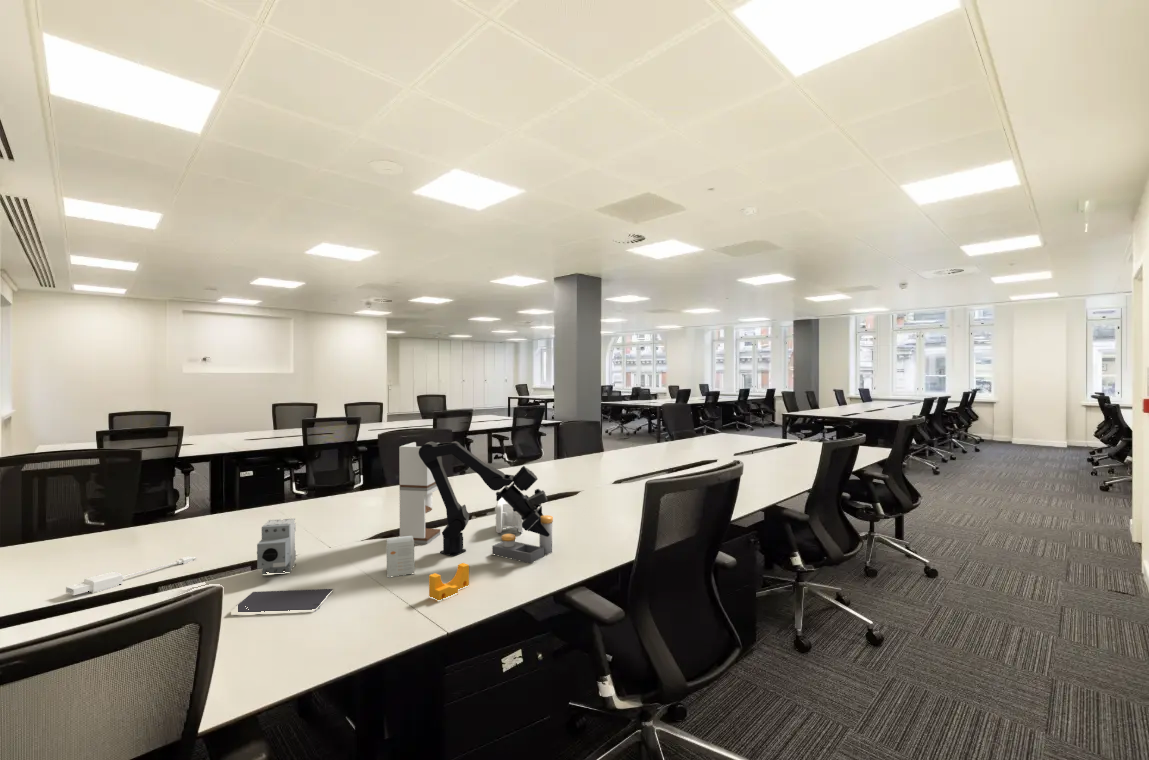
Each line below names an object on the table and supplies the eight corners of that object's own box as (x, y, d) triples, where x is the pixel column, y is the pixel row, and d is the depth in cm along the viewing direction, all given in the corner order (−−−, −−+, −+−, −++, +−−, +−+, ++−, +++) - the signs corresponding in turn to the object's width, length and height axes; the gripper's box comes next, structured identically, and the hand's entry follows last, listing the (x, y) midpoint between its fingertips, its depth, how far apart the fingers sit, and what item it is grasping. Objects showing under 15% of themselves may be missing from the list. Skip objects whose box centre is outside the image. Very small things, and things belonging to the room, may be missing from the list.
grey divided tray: (530, 563, 172) (530, 545, 171) (492, 554, 180) (492, 537, 180) (543, 556, 178) (543, 538, 178) (506, 548, 186) (506, 531, 186)
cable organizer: (522, 535, 201) (522, 505, 201) (494, 535, 200) (494, 505, 200) (524, 524, 216) (525, 495, 215) (498, 524, 215) (498, 495, 215)
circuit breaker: (255, 584, 154) (255, 533, 154) (269, 566, 168) (269, 519, 168) (284, 581, 156) (283, 531, 156) (295, 564, 170) (295, 518, 170)
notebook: (332, 593, 149) (252, 597, 147) (332, 588, 149) (252, 591, 147) (315, 614, 137) (228, 618, 134) (315, 608, 137) (228, 612, 134)
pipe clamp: (439, 602, 143) (439, 579, 143) (429, 598, 146) (429, 575, 145) (473, 588, 152) (473, 566, 152) (463, 584, 155) (463, 562, 155)
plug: (547, 555, 179) (547, 519, 179) (536, 552, 182) (536, 517, 182) (555, 550, 184) (555, 516, 183) (543, 548, 186) (544, 514, 186)
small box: (413, 568, 167) (413, 535, 167) (414, 574, 162) (414, 540, 162) (386, 571, 165) (386, 537, 164) (387, 578, 159) (386, 543, 159)
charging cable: (199, 564, 173) (200, 553, 173) (74, 598, 144) (74, 586, 144) (190, 561, 175) (190, 551, 175) (64, 595, 146) (65, 583, 146)
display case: (427, 544, 190) (427, 447, 190) (399, 542, 192) (399, 446, 191) (440, 534, 202) (440, 443, 201) (414, 533, 203) (413, 442, 203)
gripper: (532, 489, 173) (565, 522, 173) (534, 478, 192) (565, 508, 192) (508, 513, 173) (541, 547, 173) (513, 499, 191) (543, 529, 192)
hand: (549, 531), depth 183 cm, fingers open, 9 cm apart
